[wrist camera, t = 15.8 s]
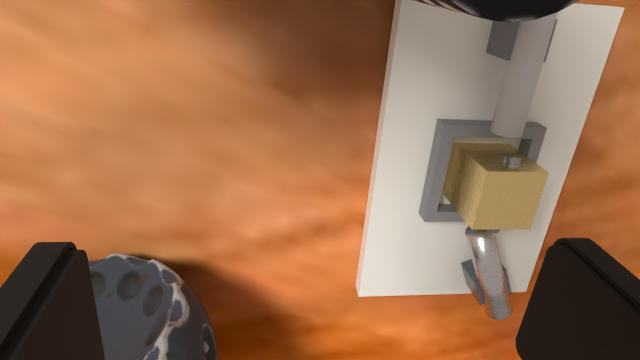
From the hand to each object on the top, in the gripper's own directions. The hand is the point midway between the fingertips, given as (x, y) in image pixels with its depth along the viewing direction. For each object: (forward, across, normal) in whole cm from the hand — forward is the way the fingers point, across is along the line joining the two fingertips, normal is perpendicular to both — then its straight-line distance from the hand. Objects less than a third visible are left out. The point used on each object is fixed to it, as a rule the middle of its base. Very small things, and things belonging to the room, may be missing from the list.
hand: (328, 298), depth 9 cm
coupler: (+27, -18, +9) cm, 33 cm away
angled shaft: (+27, -20, +18) cm, 38 cm away
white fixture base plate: (+28, -18, +9) cm, 35 cm away
